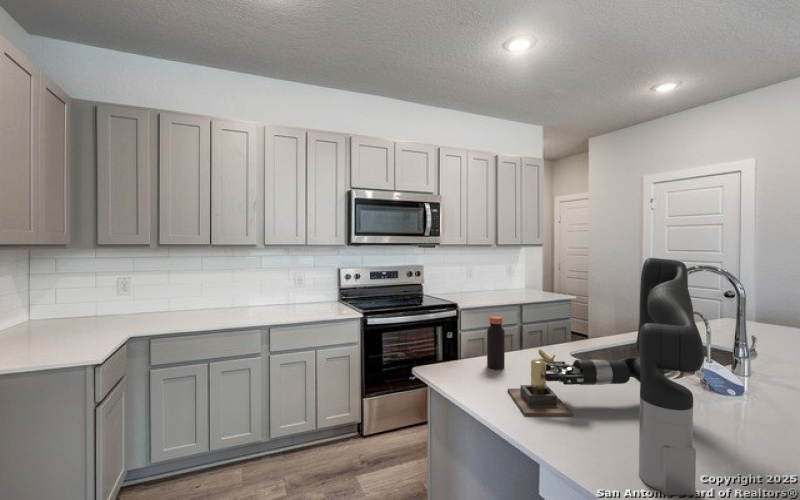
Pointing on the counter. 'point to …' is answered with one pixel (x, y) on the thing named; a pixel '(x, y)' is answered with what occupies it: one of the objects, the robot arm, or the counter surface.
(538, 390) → the post
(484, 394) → the counter surface
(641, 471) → the robot arm
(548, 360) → the banana
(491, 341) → the bottle
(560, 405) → the mounting plate
